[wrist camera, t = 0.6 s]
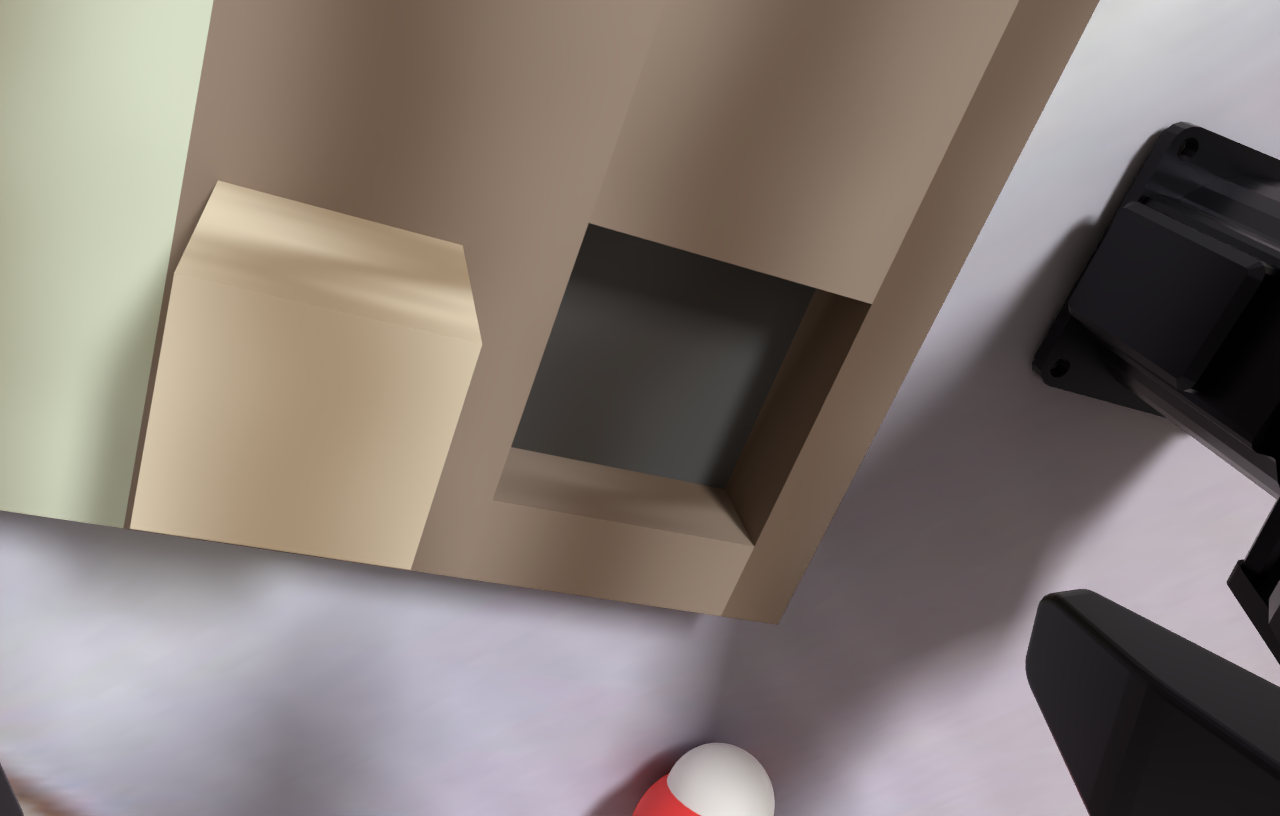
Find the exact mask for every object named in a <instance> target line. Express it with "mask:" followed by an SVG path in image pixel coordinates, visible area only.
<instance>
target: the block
mask: <svg viewBox="0 0 1280 816" xmlns="http://www.w3.org/2000/svg"><path fill="white" fill-rule="evenodd" d="M481 347H482V340H481V335H480V330H479V325H478V320H477V315H476V310H475V305H474V300H473V295H472V290H471V285H470V280H469V275H468V270H467V265H466V260H465V255H464V250H463V245H459V244H455V243H452V242H448V241H444V240H440V239H437V238H433V237H429V236H425V235H422V234H418V233H414V232H410V231H406V230H403V229H399V228H395V227H391V226H388V225H384V224H380V223H376V222H373V221H369V220H365V219H361V218H358V217H354V216H350V215H346V214H343V213H339V212H335V211H331V210H327V209H324V208H320V207H316V206H312V205H309V204H305V203H301V202H297V201H294V200H290V199H286V198H282V197H279V196H275V195H271V194H267V193H263V192H260V191H256V190H252V189H248V188H245V187H241V186H237V185H233V184H230V183H226V182H222V181H217V183H216V186H215V188H214V190H213V192H212V194H211V196H210V198H209V200H208V202H207V205H206V207H205V209H204V211H203V213H202V215H201V217H200V219H199V222H198V224H197V226H196V228H195V230H194V232H193V234H192V236H191V238H190V241H189V243H188V245H187V247H186V249H185V251H184V253H183V255H182V257H181V260H180V262H179V264H178V266H177V268H176V270H175V272H174V277H173V283H172V289H171V294H170V300H169V306H168V312H167V317H166V323H165V329H164V335H163V340H162V346H161V352H160V358H159V363H158V369H157V375H156V381H155V386H154V392H153V398H152V404H151V409H150V415H149V421H148V427H147V432H146V438H145V444H144V450H143V455H142V461H141V467H140V473H139V478H138V484H137V490H136V496H135V501H134V507H133V513H132V519H131V524H130V529H136V530H143V531H149V532H156V533H163V534H170V535H177V536H183V537H190V538H197V539H204V540H211V541H217V542H224V543H231V544H238V545H245V546H251V547H258V548H265V549H272V550H279V551H285V552H292V553H299V554H306V555H313V556H319V557H326V558H333V559H340V560H346V561H353V562H360V563H367V564H374V565H380V566H387V567H394V568H401V569H408V570H411V567H412V564H413V561H414V558H415V555H416V551H417V548H418V545H419V542H420V539H421V536H422V533H423V529H424V526H425V523H426V520H427V517H428V514H429V511H430V507H431V504H432V501H433V498H434V495H435V492H436V489H437V485H438V482H439V479H440V476H441V473H442V470H443V467H444V463H445V460H446V457H447V454H448V451H449V448H450V445H451V441H452V438H453V435H454V432H455V429H456V426H457V423H458V419H459V416H460V413H461V410H462V407H463V404H464V401H465V397H466V394H467V391H468V388H469V385H470V382H471V379H472V375H473V372H474V369H475V366H476V363H477V360H478V357H479V353H480V350H481Z"/></svg>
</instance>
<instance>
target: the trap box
mask: <svg viewBox="0 0 1280 816" xmlns="http://www.w3.org/2000/svg"><path fill="white" fill-rule="evenodd" d="M1098 2H1099V0H0V510H2V511H8V512H15V513H22V514H29V515H36V516H42V517H49V518H56V519H63V520H70V521H76V522H83V523H90V524H97V525H104V526H111V527H117V528H124V529H130V524H131V519H132V513H133V507H134V501H135V496H136V490H137V484H138V478H139V473H140V467H141V461H142V455H143V450H144V444H145V438H146V432H147V427H148V421H149V415H150V409H151V404H152V398H153V392H154V386H155V381H156V375H157V369H158V363H159V358H160V352H161V346H162V340H163V335H164V329H165V323H166V317H167V312H168V306H169V300H170V294H171V289H172V283H173V277H174V272H175V270H176V268H177V266H178V264H179V262H180V260H181V257H182V255H183V253H184V251H185V249H186V247H187V245H188V243H189V241H190V238H191V236H192V234H193V232H194V230H195V228H196V226H197V224H198V222H199V219H200V217H201V215H202V213H203V211H204V209H205V207H206V205H207V202H208V200H209V198H210V196H211V194H212V192H213V190H214V188H215V186H216V183H217V181H222V182H226V183H230V184H233V185H237V186H241V187H245V188H248V189H252V190H256V191H260V192H263V193H267V194H271V195H275V196H279V197H282V198H286V199H290V200H294V201H297V202H301V203H305V204H309V205H312V206H316V207H320V208H324V209H327V210H331V211H335V212H339V213H343V214H346V215H350V216H354V217H358V218H361V219H365V220H369V221H373V222H376V223H380V224H384V225H388V226H391V227H395V228H399V229H403V230H406V231H410V232H414V233H418V234H422V235H425V236H429V237H433V238H437V239H440V240H444V241H448V242H452V243H455V244H459V245H463V250H464V255H465V260H466V265H467V270H468V275H469V280H470V285H471V290H472V295H473V300H474V305H475V310H476V315H477V320H478V325H479V330H480V335H481V340H482V347H481V350H480V353H479V357H478V360H477V363H476V366H475V369H474V372H473V375H472V379H471V382H470V385H469V388H468V391H467V394H466V397H465V401H464V404H463V407H462V410H461V413H460V416H459V419H458V423H457V426H456V429H455V432H454V435H453V438H452V441H451V445H450V448H449V451H448V454H447V457H446V460H445V463H444V467H443V470H442V473H441V476H440V479H439V482H438V485H437V489H436V492H435V495H434V498H433V501H432V504H431V507H430V511H429V514H428V517H427V520H426V523H425V526H424V529H423V533H422V536H421V539H420V542H419V545H418V548H417V551H416V555H415V558H414V561H413V564H412V567H411V570H410V571H417V572H424V573H430V574H437V575H444V576H451V577H458V578H464V579H471V580H478V581H485V582H492V583H498V584H505V585H512V586H519V587H526V588H532V589H539V590H546V591H553V592H560V593H566V594H573V595H580V596H587V597H594V598H600V599H607V600H614V601H621V602H628V603H634V604H641V605H648V606H655V607H662V608H669V609H675V610H682V611H689V612H696V613H703V614H709V615H716V616H723V617H730V618H737V619H743V620H750V621H757V622H764V623H771V624H777V625H778V623H779V621H780V619H781V617H782V615H783V613H784V611H785V609H786V607H787V605H788V603H789V601H790V599H791V598H792V596H793V594H794V592H795V590H796V588H797V586H798V584H799V582H800V580H801V578H802V576H803V574H804V572H805V570H806V568H807V567H808V565H809V563H810V561H811V559H812V557H813V555H814V553H815V551H816V549H817V547H818V545H819V543H820V541H821V539H822V537H823V535H824V534H825V532H826V530H827V528H828V526H829V524H830V522H831V520H832V518H833V516H834V514H835V512H836V510H837V508H838V506H839V504H840V503H841V501H842V499H843V497H844V495H845V493H846V491H847V489H848V487H849V485H850V483H851V481H852V479H853V477H854V475H855V473H856V472H857V470H858V468H859V466H860V464H861V462H862V460H863V458H864V456H865V454H866V452H867V450H868V448H869V446H870V444H871V442H872V441H873V439H874V437H875V435H876V433H877V431H878V429H879V427H880V425H881V423H882V421H883V419H884V417H885V415H886V413H887V411H888V409H889V408H890V406H891V404H892V402H893V400H894V398H895V396H896V394H897V392H898V390H899V388H900V386H901V384H902V382H903V380H904V378H905V377H906V375H907V373H908V371H909V369H910V367H911V365H912V363H913V361H914V359H915V357H916V355H917V353H918V351H919V349H920V347H921V346H922V344H923V342H924V340H925V338H926V336H927V334H928V332H929V330H930V328H931V326H932V324H933V322H934V320H935V318H936V316H937V315H938V313H939V311H940V309H941V307H942V305H943V303H944V301H945V299H946V297H947V295H948V293H949V291H950V289H951V287H952V285H953V283H954V282H955V280H956V278H957V276H958V274H959V272H960V270H961V268H962V266H963V264H964V262H965V260H966V258H967V256H968V254H969V252H970V251H971V249H972V247H973V245H974V243H975V241H976V239H977V237H978V235H979V233H980V231H981V229H982V227H983V225H984V223H985V221H986V220H987V218H988V216H989V214H990V212H991V210H992V208H993V206H994V204H995V202H996V200H997V198H998V196H999V194H1000V192H1001V190H1002V189H1003V187H1004V185H1005V183H1006V181H1007V179H1008V177H1009V175H1010V173H1011V171H1012V169H1013V167H1014V165H1015V163H1016V161H1017V159H1018V158H1019V156H1020V154H1021V152H1022V150H1023V148H1024V146H1025V144H1026V142H1027V140H1028V138H1029V136H1030V134H1031V132H1032V130H1033V128H1034V126H1035V125H1036V123H1037V121H1038V119H1039V117H1040V115H1041V113H1042V111H1043V109H1044V107H1045V105H1046V103H1047V101H1048V99H1049V97H1050V95H1051V94H1052V92H1053V90H1054V88H1055V86H1056V84H1057V82H1058V80H1059V78H1060V76H1061V74H1062V72H1063V70H1064V68H1065V66H1066V64H1067V63H1068V61H1069V59H1070V57H1071V55H1072V53H1073V51H1074V49H1075V47H1076V45H1077V43H1078V41H1079V39H1080V37H1081V35H1082V33H1083V32H1084V30H1085V28H1086V26H1087V24H1088V22H1089V20H1090V18H1091V16H1092V14H1093V12H1094V10H1095V8H1096V6H1097V4H1098ZM131 530H136V529H131ZM138 531H143V530H138ZM145 532H149V531H145ZM151 533H156V532H151ZM158 534H163V533H158ZM165 535H170V534H165ZM172 536H177V535H172ZM179 537H183V536H179ZM185 538H190V537H185ZM192 539H197V538H192ZM199 540H204V539H199ZM206 541H211V540H206ZM213 542H217V541H213ZM219 543H224V542H219ZM226 544H231V543H226ZM233 545H238V544H233ZM240 546H245V545H240ZM247 547H251V546H247ZM253 548H258V547H253ZM260 549H265V548H260ZM267 550H272V549H267ZM274 551H279V550H274ZM281 552H285V551H281ZM287 553H292V552H287ZM294 554H299V553H294ZM301 555H306V554H301ZM308 556H313V555H308ZM315 557H319V556H315ZM321 558H326V557H321ZM328 559H333V558H328ZM335 560H340V559H335ZM342 561H346V560H342ZM349 562H353V561H349ZM355 563H360V562H355ZM362 564H367V563H362ZM369 565H374V564H369ZM376 566H380V565H376ZM383 567H387V566H383ZM390 568H394V567H390ZM396 569H401V568H396ZM403 570H408V569H403Z"/></svg>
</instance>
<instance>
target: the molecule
mask: <svg viewBox="0 0 1280 816" xmlns="http://www.w3.org/2000/svg"><path fill="white" fill-rule="evenodd" d="M774 810H775V798H774V792H773V787H772V784H771V781H770V779H769V777H768V775H767V773H766V771H765V769H764V768H763V766H762V765H761V764H760V763H759V762H758V760H757V759H756V758H754V757H753V756H752V755H751V754H750V753H748V752H747V751H745V750H743V749H741V748H739V747H737V746H734V745H731V744H727V743H709V744H703V745H701V746H698V747H695V748H693V749H692V750H690V751H688V752H687V753H686V754H684V755H683V756H682V757H681V758H680V759H679V760H678V761H677V762H676V763H675V765H674V766H673V768H672V769H671V771H670V773H668V774H667V775H665V776H663V777H662V778H660V779H659V780H658V781H657V782H655V783H654V784H653V785H652V786H651V787H650V788H649V789H648V790H647V791H646V792H645V794H644V795H643V797H642V798H641V799H640V801H639V803H638V804H637V806H636V808H635V810H634V813H633V815H632V816H774Z"/></svg>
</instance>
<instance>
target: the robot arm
mask: <svg viewBox="0 0 1280 816" xmlns="http://www.w3.org/2000/svg"><path fill="white" fill-rule="evenodd" d="M1184 140H1186V144H1185V147H1184V149H1183V150H1182V151H1181V152H1180V153H1179V154H1177V151H1178V148H1179V146H1180V144H1181V143H1182V142H1183V141H1184ZM1059 359H1060V362H1059V364H1058V365H1057V366H1056V367H1055V368H1053V369H1051V367H1052V365H1053V364H1054V363H1055V362H1056V361H1057V360H1059ZM1032 370H1033V372H1034V374H1035V376H1037V377H1038V378H1039V379H1040V380H1041V381H1043V382H1044V383H1045V384H1047V385H1049V386H1052V387H1055V388H1059V389H1063V390H1066V391H1070V392H1074V393H1077V394H1081V395H1085V396H1088V397H1092V398H1096V399H1099V400H1103V401H1107V402H1110V403H1114V404H1118V405H1121V406H1125V407H1129V408H1132V409H1136V410H1140V411H1143V412H1147V413H1151V414H1154V415H1158V416H1162V417H1165V418H1168V419H1169V420H1170V421H1172V422H1173V423H1174V424H1176V425H1177V426H1178V427H1180V428H1181V429H1183V430H1184V431H1185V432H1187V433H1188V434H1189V435H1191V436H1192V437H1193V438H1195V439H1196V440H1197V441H1199V442H1200V443H1201V444H1203V445H1204V446H1205V447H1207V448H1208V449H1210V450H1211V451H1212V452H1214V453H1215V454H1216V455H1218V456H1219V457H1220V458H1222V459H1223V460H1224V461H1226V462H1227V463H1228V464H1230V465H1231V466H1232V467H1234V468H1235V469H1236V470H1238V471H1239V472H1241V473H1242V474H1243V475H1245V476H1246V477H1247V478H1249V479H1250V480H1251V481H1253V482H1254V483H1255V484H1257V485H1258V486H1259V487H1261V488H1262V489H1263V490H1265V491H1266V492H1268V493H1269V494H1270V495H1272V496H1273V497H1274V498H1276V499H1277V501H1276V502H1275V504H1274V506H1273V508H1272V510H1271V512H1270V513H1269V515H1268V517H1267V519H1266V521H1265V523H1264V524H1263V526H1262V528H1261V530H1260V532H1259V534H1258V535H1257V537H1256V539H1255V541H1254V543H1253V545H1252V546H1251V548H1250V550H1249V552H1248V554H1247V556H1246V558H1245V559H1244V560H1238V562H1237V564H1236V565H1235V567H1234V569H1233V571H1232V573H1231V575H1230V577H1229V578H1228V580H1227V585H1228V587H1229V588H1230V590H1231V591H1232V593H1233V594H1234V596H1235V597H1236V599H1237V600H1238V602H1239V603H1240V605H1241V606H1242V608H1243V609H1244V611H1245V612H1246V614H1247V616H1248V617H1249V619H1250V620H1251V622H1252V623H1253V625H1254V626H1255V628H1256V629H1257V631H1258V632H1259V634H1260V635H1261V637H1262V638H1263V640H1264V641H1265V643H1266V644H1267V646H1268V648H1269V649H1270V651H1271V652H1272V654H1273V655H1274V657H1275V658H1276V660H1277V661H1278V663H1279V664H1280V160H1278V159H1276V158H1273V157H1271V156H1269V155H1266V154H1264V153H1261V152H1259V151H1257V150H1254V149H1252V148H1249V147H1247V146H1245V145H1242V144H1240V143H1238V142H1235V141H1233V140H1230V139H1228V138H1226V137H1223V136H1221V135H1218V134H1216V133H1214V132H1211V131H1209V130H1206V129H1204V128H1202V127H1199V126H1196V125H1193V124H1191V123H1187V122H1179V123H1175V124H1173V125H1171V126H1170V127H1169V128H1167V129H1166V130H1165V131H1164V132H1163V133H1162V135H1161V136H1160V137H1159V139H1158V141H1157V143H1156V144H1155V146H1154V148H1153V150H1152V151H1151V153H1150V155H1149V157H1148V158H1147V160H1146V162H1145V164H1144V165H1143V167H1142V169H1141V171H1140V172H1139V174H1138V176H1137V178H1136V179H1135V181H1134V183H1133V185H1132V186H1131V188H1130V190H1129V192H1128V193H1127V195H1126V197H1125V199H1124V200H1123V202H1122V204H1121V206H1120V207H1119V209H1118V211H1117V213H1116V215H1115V216H1114V218H1113V220H1112V222H1111V223H1110V225H1109V227H1108V229H1107V230H1106V232H1105V234H1104V236H1103V237H1102V239H1101V241H1100V243H1099V244H1098V246H1097V248H1096V250H1095V251H1094V253H1093V255H1092V257H1091V258H1090V260H1089V262H1088V264H1087V265H1086V267H1085V269H1084V271H1083V272H1082V274H1081V276H1080V278H1079V279H1078V281H1077V283H1076V285H1075V286H1074V288H1073V290H1072V292H1071V294H1070V295H1069V297H1068V299H1067V301H1066V302H1065V304H1064V306H1063V308H1062V309H1061V311H1060V313H1059V315H1058V316H1057V318H1056V320H1055V322H1054V323H1053V325H1052V327H1051V329H1050V330H1049V332H1048V334H1047V336H1046V337H1045V339H1044V341H1043V343H1042V344H1041V346H1040V348H1039V350H1038V351H1037V353H1036V355H1035V357H1034V360H1033V362H1032ZM1026 675H1027V679H1028V682H1029V685H1030V688H1031V690H1032V692H1033V694H1034V697H1035V699H1036V701H1037V703H1038V705H1039V707H1040V710H1041V712H1042V714H1043V716H1044V718H1045V720H1046V723H1047V725H1048V727H1049V729H1050V731H1051V733H1052V736H1053V738H1054V740H1055V742H1056V744H1057V746H1058V749H1059V751H1060V753H1061V755H1062V757H1063V759H1064V762H1065V764H1066V766H1067V768H1068V770H1069V772H1070V775H1071V777H1072V779H1073V781H1074V783H1075V785H1076V788H1077V790H1078V792H1079V794H1080V796H1081V798H1082V801H1083V803H1084V805H1085V807H1086V809H1087V811H1088V813H1089V815H1090V816H1280V687H1278V686H1276V685H1275V684H1273V683H1271V682H1269V681H1267V680H1265V679H1263V678H1261V677H1259V676H1257V675H1255V674H1253V673H1251V672H1249V671H1247V670H1245V669H1243V668H1241V667H1240V666H1238V665H1236V664H1234V663H1232V662H1230V661H1228V660H1226V659H1224V658H1222V657H1220V656H1218V655H1216V654H1214V653H1212V652H1210V651H1208V650H1206V649H1204V648H1203V647H1201V646H1199V645H1197V644H1195V643H1193V642H1191V641H1189V640H1187V639H1185V638H1183V637H1181V636H1179V635H1177V634H1175V633H1173V632H1171V631H1169V630H1168V629H1166V628H1164V627H1162V626H1160V625H1158V624H1156V623H1154V622H1152V621H1150V620H1148V619H1146V618H1144V617H1142V616H1140V615H1138V614H1136V613H1134V612H1133V611H1131V610H1129V609H1127V608H1125V607H1123V606H1121V605H1119V604H1117V603H1115V602H1113V601H1111V600H1109V599H1107V598H1105V597H1103V596H1101V595H1099V594H1097V593H1095V592H1093V591H1091V590H1087V589H1077V590H1070V591H1063V592H1056V593H1050V594H1048V595H1046V596H1044V597H1043V599H1042V600H1041V601H1040V603H1039V605H1038V609H1037V613H1036V617H1035V621H1034V625H1033V630H1032V634H1031V638H1030V642H1029V646H1028V651H1027V655H1026ZM0 816H24V815H23V812H22V809H21V807H20V805H19V803H18V800H17V798H16V796H15V794H14V792H13V790H12V787H11V785H10V783H9V781H8V779H7V777H6V775H5V772H4V770H3V768H2V766H1V764H0Z"/></svg>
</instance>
